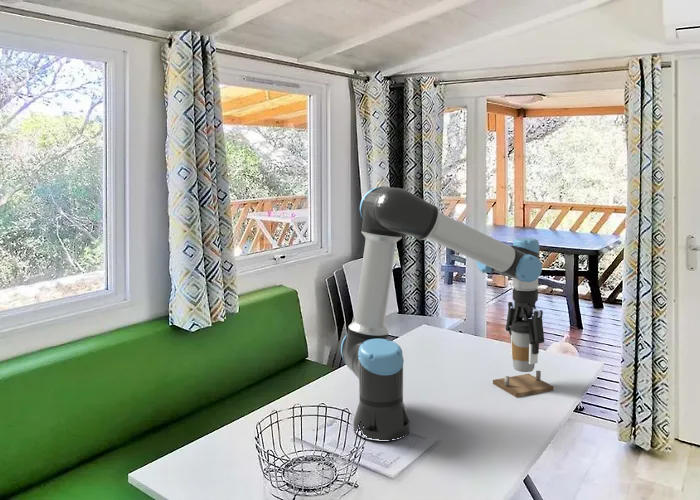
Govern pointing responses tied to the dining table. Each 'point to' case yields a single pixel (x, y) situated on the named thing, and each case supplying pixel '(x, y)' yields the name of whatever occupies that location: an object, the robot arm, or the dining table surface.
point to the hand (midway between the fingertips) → (523, 358)
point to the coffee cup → (521, 346)
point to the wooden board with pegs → (523, 384)
